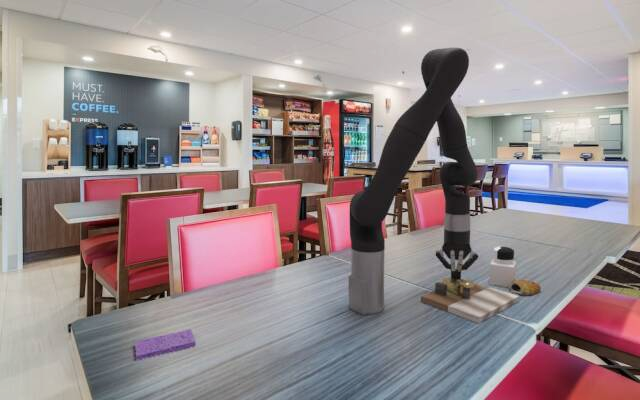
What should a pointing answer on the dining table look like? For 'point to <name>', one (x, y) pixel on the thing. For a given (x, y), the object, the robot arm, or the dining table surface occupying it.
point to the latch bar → (457, 285)
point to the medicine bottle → (502, 267)
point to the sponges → (164, 344)
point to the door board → (470, 301)
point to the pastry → (524, 287)
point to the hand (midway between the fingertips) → (455, 281)
